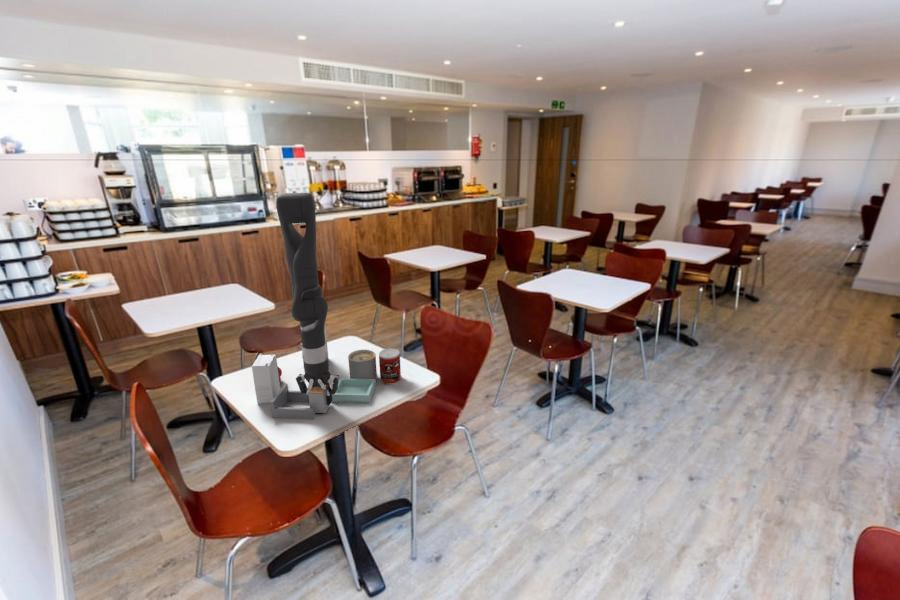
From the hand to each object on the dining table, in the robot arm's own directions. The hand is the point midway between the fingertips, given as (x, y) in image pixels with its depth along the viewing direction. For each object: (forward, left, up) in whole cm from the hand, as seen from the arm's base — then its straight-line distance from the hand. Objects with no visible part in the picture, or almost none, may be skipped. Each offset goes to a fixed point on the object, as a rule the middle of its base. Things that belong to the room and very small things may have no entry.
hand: (320, 403), depth 138 cm
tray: (-10, +9, -2) cm, 13 cm away
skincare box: (-6, -20, -3) cm, 22 cm away
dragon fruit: (-16, -25, -3) cm, 29 cm away
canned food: (-21, +20, -3) cm, 29 cm away
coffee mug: (-22, +8, -3) cm, 24 cm away
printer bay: (0, -7, -2) cm, 8 cm away
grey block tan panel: (0, 0, -1) cm, 1 cm away
